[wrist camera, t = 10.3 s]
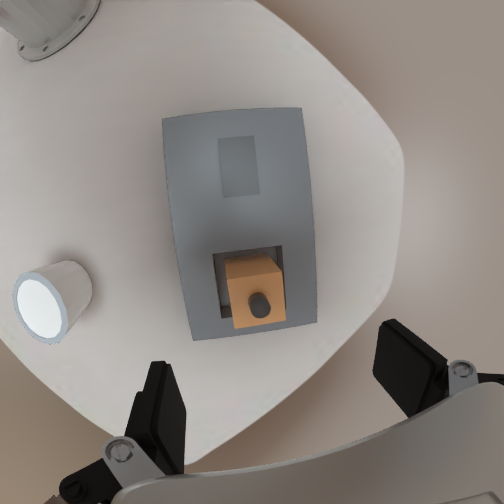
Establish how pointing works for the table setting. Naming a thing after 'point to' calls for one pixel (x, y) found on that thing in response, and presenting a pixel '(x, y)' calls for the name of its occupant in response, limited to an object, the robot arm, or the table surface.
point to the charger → (255, 290)
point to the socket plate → (240, 208)
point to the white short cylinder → (52, 299)
